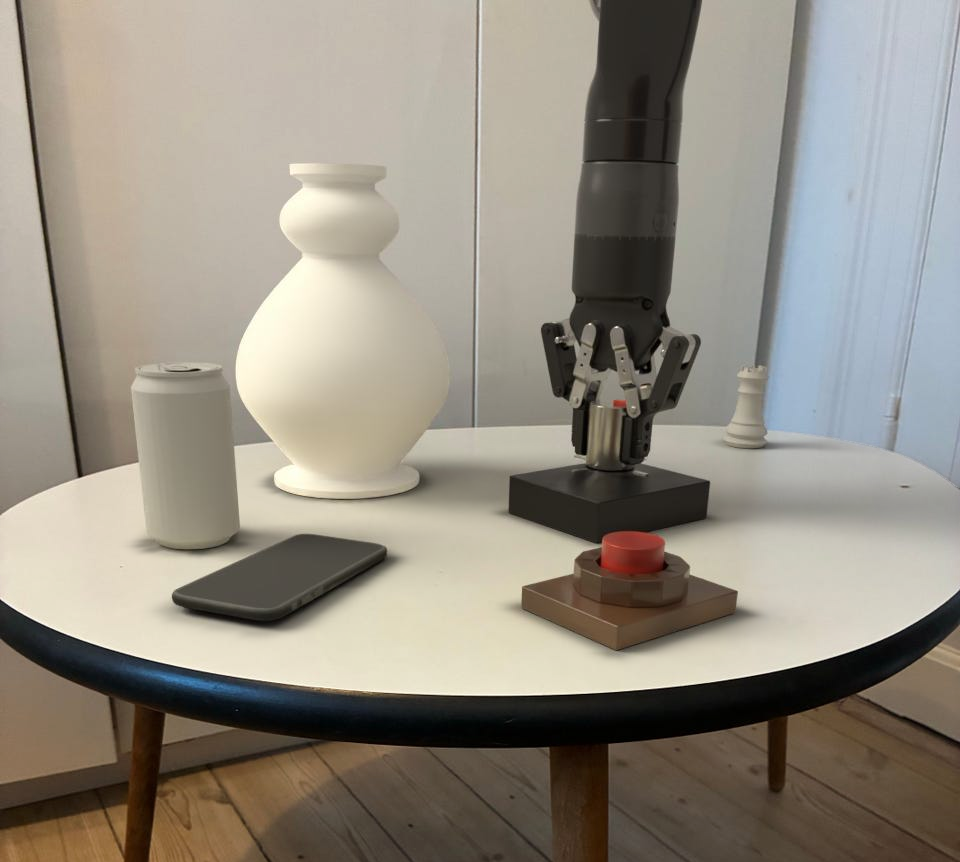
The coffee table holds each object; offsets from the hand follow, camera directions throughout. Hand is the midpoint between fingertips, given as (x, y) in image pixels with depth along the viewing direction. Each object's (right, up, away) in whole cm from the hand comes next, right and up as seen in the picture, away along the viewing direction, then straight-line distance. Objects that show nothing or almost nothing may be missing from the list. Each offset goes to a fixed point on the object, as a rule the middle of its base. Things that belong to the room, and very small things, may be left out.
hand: (608, 457), depth 83 cm
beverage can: (-31, -8, -10) cm, 33 cm away
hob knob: (0, -1, 0) cm, 1 cm away
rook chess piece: (+17, +6, +25) cm, 31 cm away
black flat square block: (-1, -5, -1) cm, 5 cm away
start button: (-2, -11, -23) cm, 25 cm away
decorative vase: (-22, -1, +7) cm, 23 cm away
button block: (-2, -13, -22) cm, 26 cm away
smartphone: (-23, -11, -18) cm, 31 cm away
